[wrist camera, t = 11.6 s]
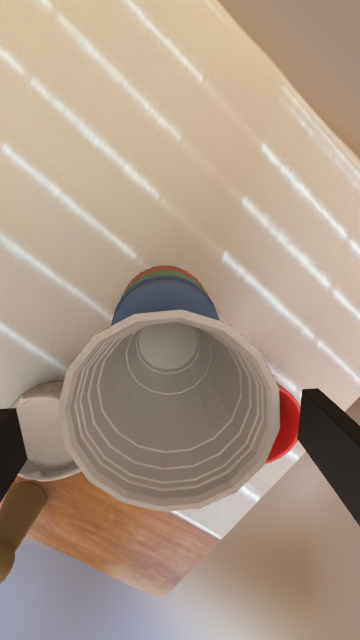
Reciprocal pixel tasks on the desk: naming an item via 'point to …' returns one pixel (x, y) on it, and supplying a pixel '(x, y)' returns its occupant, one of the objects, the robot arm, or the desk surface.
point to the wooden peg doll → (17, 520)
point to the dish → (43, 434)
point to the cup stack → (164, 294)
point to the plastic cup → (169, 410)
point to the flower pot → (285, 425)
